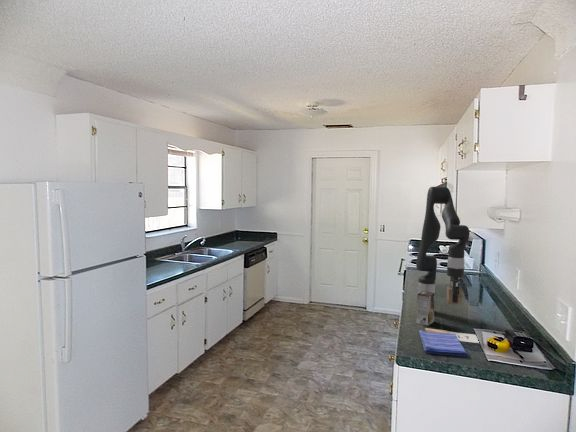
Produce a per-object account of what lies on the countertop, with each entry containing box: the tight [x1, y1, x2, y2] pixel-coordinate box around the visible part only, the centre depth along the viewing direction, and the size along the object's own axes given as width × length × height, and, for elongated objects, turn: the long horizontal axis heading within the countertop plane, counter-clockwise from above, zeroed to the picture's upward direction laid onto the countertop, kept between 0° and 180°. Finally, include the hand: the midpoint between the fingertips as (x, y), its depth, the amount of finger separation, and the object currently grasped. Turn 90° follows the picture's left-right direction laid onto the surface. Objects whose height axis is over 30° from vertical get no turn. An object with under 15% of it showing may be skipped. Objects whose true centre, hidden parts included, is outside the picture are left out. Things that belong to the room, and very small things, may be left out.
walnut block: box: [446, 285, 463, 306], centre depth 187 cm, size 6×6×7 cm
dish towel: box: [418, 329, 468, 357], centre depth 175 cm, size 17×24×3 cm
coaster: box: [424, 327, 450, 334], centre depth 191 cm, size 10×11×1 cm
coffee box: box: [416, 291, 436, 327], centre depth 207 cm, size 9×6×16 cm
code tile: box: [449, 331, 480, 344], centre depth 186 cm, size 12×12×1 cm
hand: (454, 300), depth 188 cm, fingers closed on walnut block, 6 cm apart
